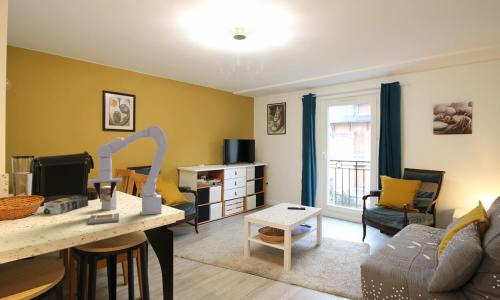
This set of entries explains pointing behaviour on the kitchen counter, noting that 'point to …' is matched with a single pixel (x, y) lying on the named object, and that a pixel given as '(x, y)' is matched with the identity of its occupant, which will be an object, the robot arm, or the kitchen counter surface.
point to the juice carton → (65, 204)
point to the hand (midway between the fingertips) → (105, 197)
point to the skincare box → (112, 203)
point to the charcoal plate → (103, 219)
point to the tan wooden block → (105, 194)
